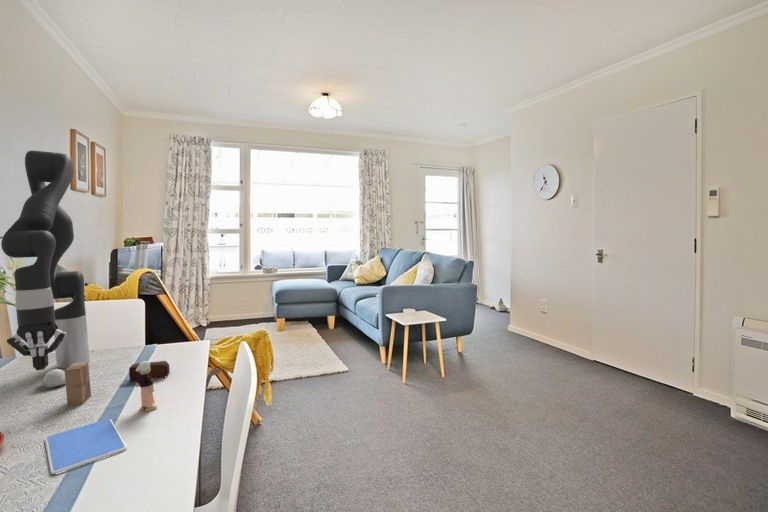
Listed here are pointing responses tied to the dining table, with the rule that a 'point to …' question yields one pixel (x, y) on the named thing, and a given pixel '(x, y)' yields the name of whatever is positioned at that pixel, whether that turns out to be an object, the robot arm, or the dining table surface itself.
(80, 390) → the marked cardboard box
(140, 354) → the dining table surface
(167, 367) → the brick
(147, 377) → the grandmother figurine
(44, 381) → the white seashell
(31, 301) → the robot arm
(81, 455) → the tablet computer
